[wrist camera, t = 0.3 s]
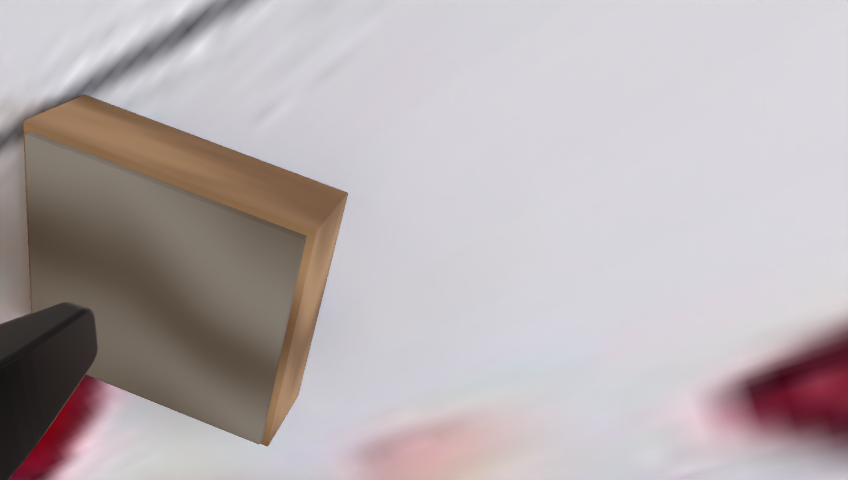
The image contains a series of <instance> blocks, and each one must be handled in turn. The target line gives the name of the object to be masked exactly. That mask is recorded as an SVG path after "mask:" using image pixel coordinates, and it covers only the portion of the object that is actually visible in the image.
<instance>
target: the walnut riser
mask: <svg viewBox="0 0 848 480" xmlns="http://www.w3.org/2000/svg"><path fill="white" fill-rule="evenodd" d="M23 128H24V152H25V175H26V198H27V221H28V245H29V268H30V291H31V313H33V312H36V311H39V310H42V309H44V308H47V307H50V306H53V305H56V304H59V303H62V302H72V303H75V304H78V305H81V306H84V307H87V308H89V309H91V310H92V311H93V313H94V315H95V322H96V332H97V342H98V351H97V356H96V358H95V360H94V362H93V364H92V366H91V367H90V369H89V370H88V371H87V373H86V375H88V376H91V377H93V378H96V379H98V380H101V381H103V382H106V383H108V384H111V385H113V386H116V387H118V388H121V389H123V390H126V391H128V392H130V393H133V394H135V395H138V396H140V397H143V398H145V399H148V400H150V401H153V402H155V403H158V404H160V405H163V406H165V407H168V408H170V409H173V410H175V411H178V412H180V413H182V414H185V415H187V416H190V417H192V418H195V419H197V420H200V421H202V422H205V423H207V424H210V425H212V426H215V427H217V428H220V429H222V430H225V431H227V432H230V433H232V434H234V435H237V436H239V437H242V438H244V439H247V440H249V441H252V442H254V443H257V444H263V445H265V446H268V445H269V444H270V442H271V440H272V439H273V437H274V435H275V434H276V432H277V430H278V429H279V427H280V425H281V424H282V422H283V420H284V419H285V417H286V415H287V414H288V412H289V410H290V409H291V407H292V405H293V404H294V402H295V400H296V399H297V397H298V394H299V390H300V386H301V382H302V378H303V374H304V370H305V366H306V361H307V357H308V353H309V349H310V345H311V341H312V337H313V333H314V329H315V325H316V321H317V317H318V313H319V309H320V305H321V301H322V297H323V293H324V289H325V285H326V281H327V277H328V273H329V268H330V264H331V260H332V256H333V252H334V248H335V244H336V240H337V236H338V232H339V228H340V224H341V220H342V216H343V212H344V208H345V204H346V200H347V196H348V193H347V192H344V191H341V190H339V189H336V188H333V187H330V186H328V185H325V184H322V183H320V182H317V181H314V180H312V179H309V178H306V177H304V176H301V175H298V174H296V173H293V172H290V171H288V170H285V169H282V168H280V167H277V166H274V165H271V164H269V163H266V162H263V161H261V160H258V159H255V158H253V157H250V156H247V155H245V154H242V153H239V152H237V151H234V150H231V149H229V148H226V147H223V146H221V145H218V144H215V143H213V142H210V141H207V140H204V139H202V138H199V137H196V136H194V135H191V134H188V133H186V132H183V131H180V130H178V129H175V128H172V127H170V126H167V125H164V124H162V123H159V122H156V121H154V120H151V119H148V118H145V117H143V116H140V115H137V114H135V113H132V112H129V111H127V110H124V109H121V108H119V107H116V106H113V105H111V104H108V103H105V102H103V101H100V100H97V99H95V98H92V97H89V96H87V95H83V96H81V97H78V98H76V99H74V100H71V101H69V102H66V103H64V104H62V105H59V106H57V107H54V108H52V109H50V110H47V111H45V112H43V113H40V114H38V115H35V116H33V117H31V118H28V119H26V120H24V121H23Z"/></svg>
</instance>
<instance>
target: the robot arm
mask: <svg viewBox="0 0 848 480" xmlns="http://www.w3.org/2000/svg"><path fill="white" fill-rule="evenodd" d="M97 351H98V342H97V332H96V322H95V315H94V313H93V311H92V310H91V309H89V308H87V307H84V306H81V305H78V304H75V303H72V302H62V303H59V304H56V305H53V306H50V307H47V308H44V309H42V310H39V311H36V312H33V313H30V314H28V315H25V316H22V317H19V318H16V319H13V320H11V321H8V322H5V323H2V324H0V480H8V479H9V478H10V477H11V475H12V474H13V473H14V472H15V471H16V470H17V468H18V467H19V466H20V465H21V464H22V462H23V461H24V460H25V459H26V458H27V456H28V455H29V454H30V453H31V451H32V450H33V449H34V448H35V446H36V445H37V444H38V442H39V441H40V440H41V438H42V437H43V436H44V434H45V433H46V431H47V430H48V428H49V427H50V426H51V424H52V423H53V421H54V420H55V418H56V417H57V415H58V414H59V412H60V411H61V409H62V408H63V407H64V405H65V404H66V402H67V401H68V399H69V398H70V396H71V395H72V393H73V392H74V390H75V389H76V388H77V386H78V385H79V383H80V382H81V380H82V379H83V377H84V376H85V374H86V373H87V371H88V370H89V369H90V367H91V366H92V364H93V362H94V360H95V358H96V356H97Z"/></svg>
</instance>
